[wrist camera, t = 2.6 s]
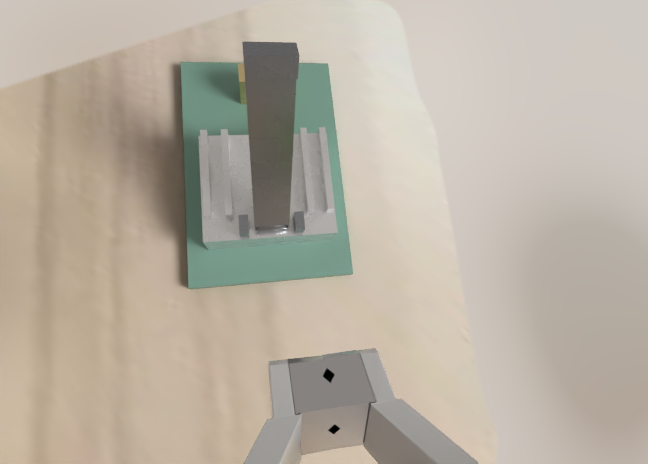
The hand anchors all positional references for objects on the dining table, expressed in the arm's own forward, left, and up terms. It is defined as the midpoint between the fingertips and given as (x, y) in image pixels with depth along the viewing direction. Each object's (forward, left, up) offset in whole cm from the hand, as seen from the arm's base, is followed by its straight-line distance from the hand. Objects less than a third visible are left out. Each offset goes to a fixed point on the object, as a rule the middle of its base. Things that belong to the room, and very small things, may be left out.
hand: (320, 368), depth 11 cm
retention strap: (-7, +11, -16) cm, 20 cm away
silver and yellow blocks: (-9, +15, -27) cm, 32 cm away
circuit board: (-9, +14, -28) cm, 33 cm away
